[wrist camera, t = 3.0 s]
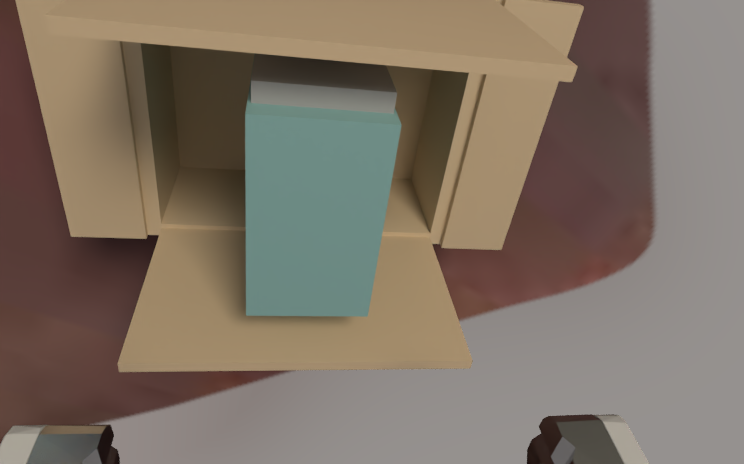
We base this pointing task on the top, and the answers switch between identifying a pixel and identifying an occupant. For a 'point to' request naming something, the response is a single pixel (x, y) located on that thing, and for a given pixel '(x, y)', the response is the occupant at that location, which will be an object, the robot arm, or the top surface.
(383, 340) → the carton
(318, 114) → the teal box
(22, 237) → the top surface
